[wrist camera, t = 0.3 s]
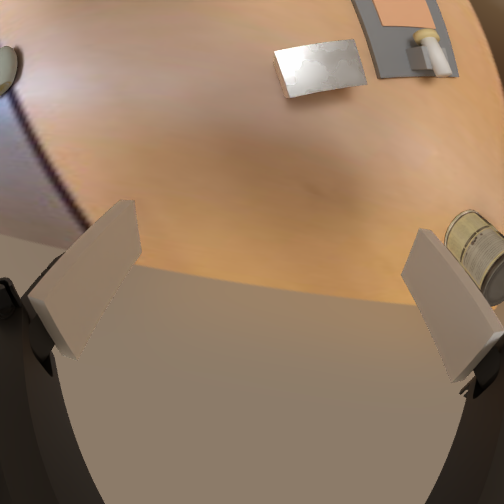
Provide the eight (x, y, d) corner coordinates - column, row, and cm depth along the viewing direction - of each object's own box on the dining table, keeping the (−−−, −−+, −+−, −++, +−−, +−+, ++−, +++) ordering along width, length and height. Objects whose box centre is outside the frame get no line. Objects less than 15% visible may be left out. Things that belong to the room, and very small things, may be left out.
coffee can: (488, 211, 35) (533, 252, 23) (472, 257, 41) (508, 303, 29) (452, 206, 36) (501, 252, 24) (437, 257, 41) (473, 310, 29)
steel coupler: (273, 62, 27) (274, 51, 20) (333, 51, 26) (353, 39, 18) (284, 97, 30) (290, 97, 22) (344, 86, 28) (367, 84, 21)
